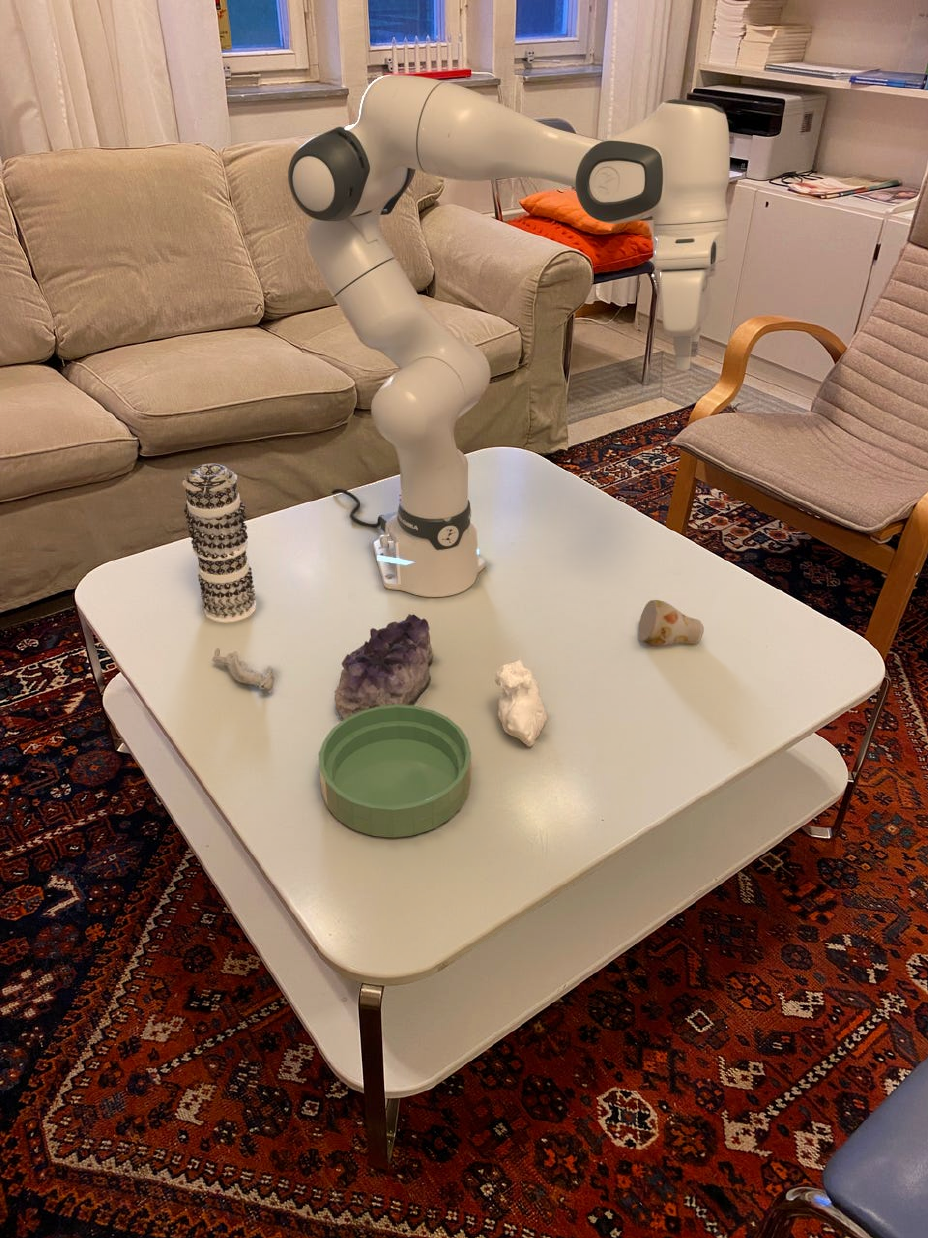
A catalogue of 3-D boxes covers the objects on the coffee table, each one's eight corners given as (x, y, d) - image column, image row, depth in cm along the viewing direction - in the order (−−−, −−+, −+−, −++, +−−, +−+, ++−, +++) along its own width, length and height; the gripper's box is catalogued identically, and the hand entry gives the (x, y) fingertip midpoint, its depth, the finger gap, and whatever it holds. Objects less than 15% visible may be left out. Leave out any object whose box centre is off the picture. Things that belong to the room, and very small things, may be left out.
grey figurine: (246, 659, 147) (297, 666, 140) (237, 689, 146) (287, 698, 139) (207, 643, 141) (258, 651, 134) (196, 675, 140) (247, 684, 133)
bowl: (304, 757, 128) (301, 727, 125) (436, 720, 134) (436, 690, 131) (349, 860, 113) (346, 828, 110) (494, 812, 120) (495, 781, 117)
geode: (378, 641, 150) (384, 589, 144) (446, 665, 147) (455, 613, 142) (319, 717, 133) (323, 661, 128) (394, 745, 131) (402, 690, 125)
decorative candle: (219, 631, 152) (196, 490, 137) (191, 606, 157) (166, 469, 143) (269, 610, 156) (251, 472, 142) (240, 586, 162) (220, 452, 148)
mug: (710, 655, 148) (690, 616, 141) (650, 669, 152) (628, 632, 145) (706, 618, 153) (686, 579, 146) (648, 633, 156) (626, 596, 150)
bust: (522, 709, 140) (476, 657, 135) (565, 689, 136) (520, 634, 132) (514, 766, 130) (465, 711, 126) (560, 745, 127) (511, 688, 122)
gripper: (673, 243, 126) (671, 349, 132) (652, 255, 109) (651, 377, 115) (722, 240, 124) (718, 348, 130) (709, 252, 107) (705, 377, 113)
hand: (687, 362), depth 122 cm, fingers open, 8 cm apart
